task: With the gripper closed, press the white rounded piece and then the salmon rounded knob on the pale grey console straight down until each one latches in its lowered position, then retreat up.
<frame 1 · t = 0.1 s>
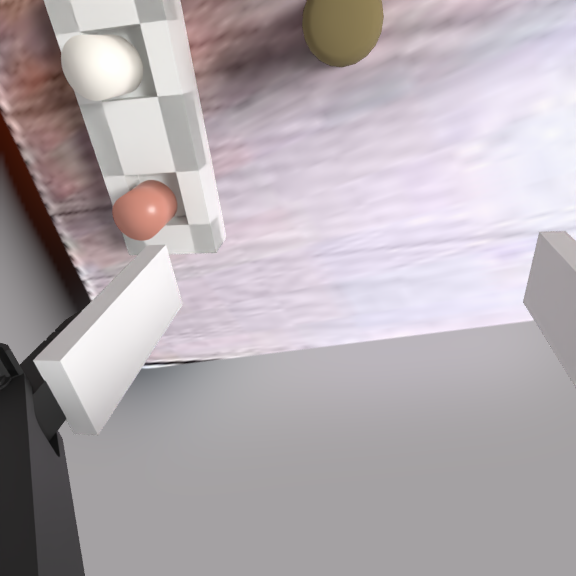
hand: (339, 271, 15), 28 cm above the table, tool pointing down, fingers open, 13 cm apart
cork: (345, 24, 34), on the table
white rounded piece: (104, 67, 33), point 6 cm above the table, slide at 0.0 cm
console: (157, 129, 41), on the table
salmon rounded knob: (146, 209, 39), point 6 cm above the table, slide at 0.0 cm
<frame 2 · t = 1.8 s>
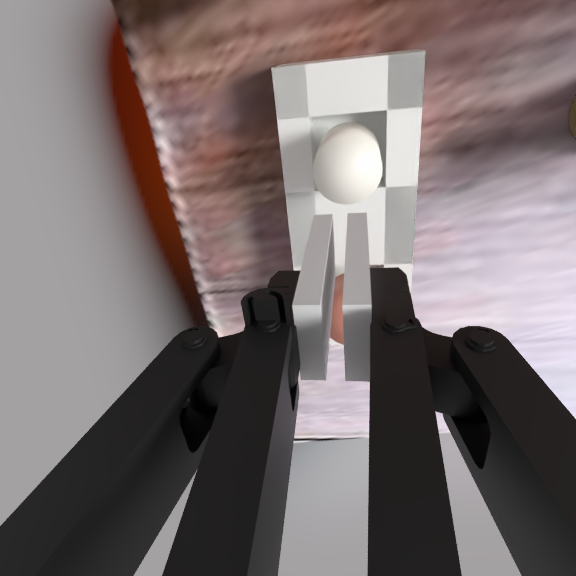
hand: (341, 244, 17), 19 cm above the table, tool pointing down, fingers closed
white rounded piece: (347, 162, 28), point 6 cm above the table, slide at 0.0 cm
console: (351, 211, 36), on the table
salmon rounded knob: (351, 308, 34), point 7 cm above the table, slide at 0.0 cm
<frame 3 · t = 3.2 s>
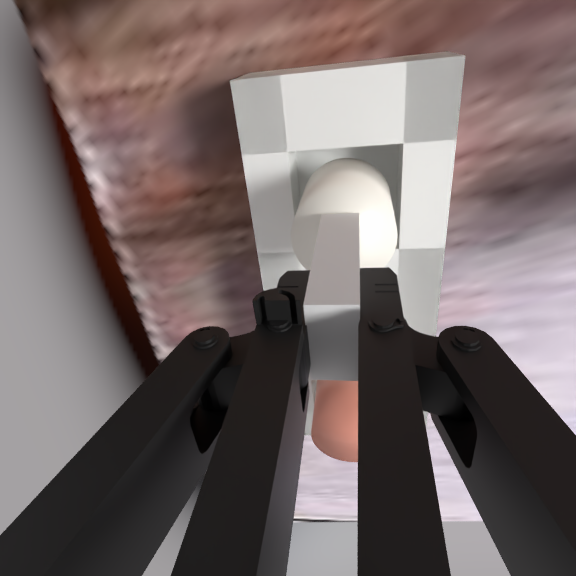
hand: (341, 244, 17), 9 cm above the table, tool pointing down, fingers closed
white rounded piece: (344, 218, 19), point 6 cm above the table, slide at 0.4 cm, touching gripper
console: (350, 267, 27), on the table
salmon rounded knob: (350, 406, 25), point 7 cm above the table, slide at 0.0 cm
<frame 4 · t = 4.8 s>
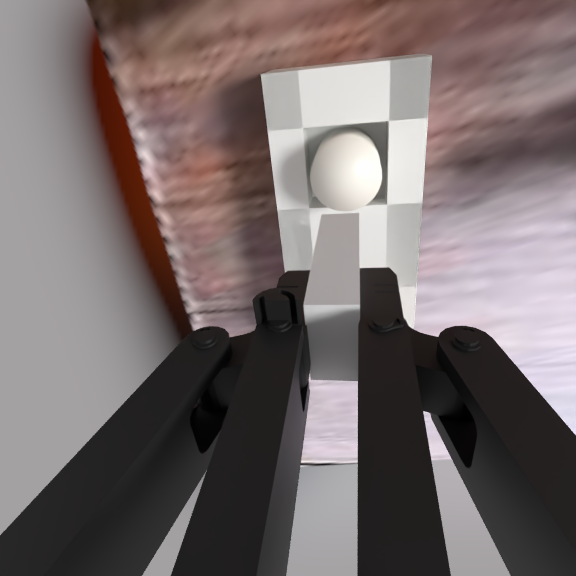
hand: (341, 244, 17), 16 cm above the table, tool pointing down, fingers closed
white rounded piece: (346, 167, 27), point 4 cm above the table, slide at 2.4 cm
console: (349, 227, 34), on the table
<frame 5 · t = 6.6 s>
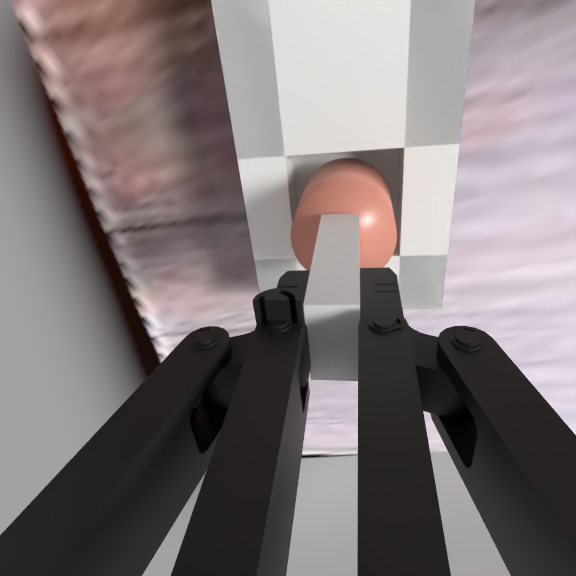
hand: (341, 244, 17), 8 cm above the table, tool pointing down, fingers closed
console: (343, 63, 20), on the table
salmon rounded knob: (344, 218, 19), point 5 cm above the table, slide at 1.2 cm, touching gripper
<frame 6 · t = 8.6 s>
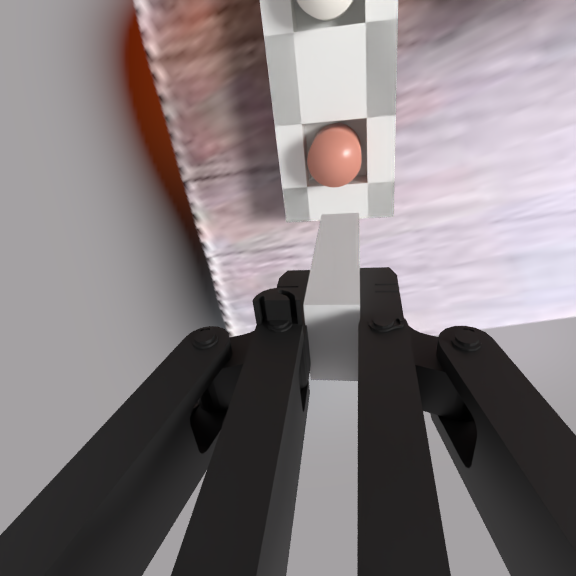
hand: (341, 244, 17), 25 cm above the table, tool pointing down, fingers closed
console: (333, 73, 36), on the table
salmon rounded knob: (335, 154, 35), point 4 cm above the table, slide at 2.4 cm
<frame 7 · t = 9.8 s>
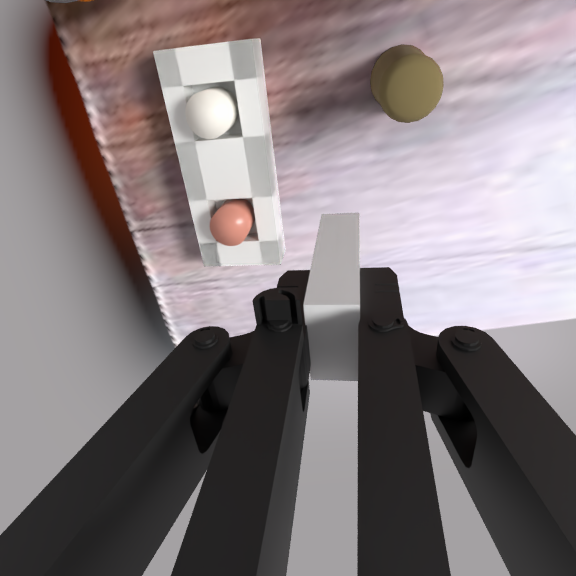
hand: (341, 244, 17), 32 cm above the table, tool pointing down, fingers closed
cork: (400, 78, 42), on the table
white rounded piece: (213, 112, 42), point 4 cm above the table, slide at 2.4 cm
console: (233, 160, 49), on the table
salmon rounded knob: (233, 221, 48), point 4 cm above the table, slide at 2.4 cm
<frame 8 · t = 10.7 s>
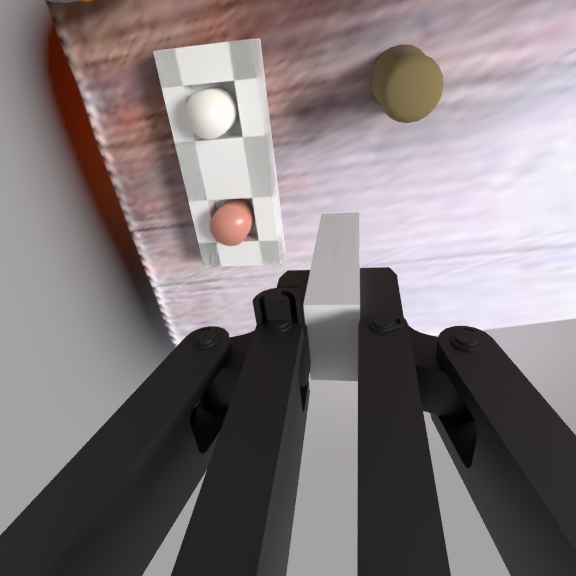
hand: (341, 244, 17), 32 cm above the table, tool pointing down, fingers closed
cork: (400, 78, 42), on the table
white rounded piece: (213, 112, 42), point 4 cm above the table, slide at 2.4 cm
console: (233, 160, 49), on the table
salmon rounded knob: (233, 221, 48), point 4 cm above the table, slide at 2.4 cm
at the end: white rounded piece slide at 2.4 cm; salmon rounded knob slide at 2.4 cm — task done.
